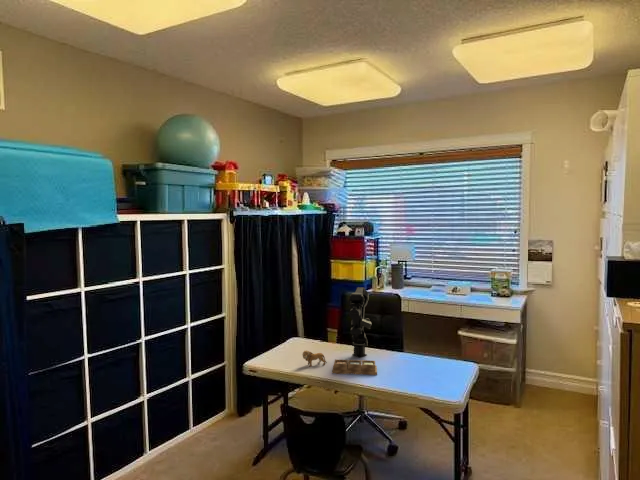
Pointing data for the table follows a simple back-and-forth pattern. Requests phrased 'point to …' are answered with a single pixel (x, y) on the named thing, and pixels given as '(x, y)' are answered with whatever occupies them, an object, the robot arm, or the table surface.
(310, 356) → the lion figurine
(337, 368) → the button board
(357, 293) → the robot arm
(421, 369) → the table surface
